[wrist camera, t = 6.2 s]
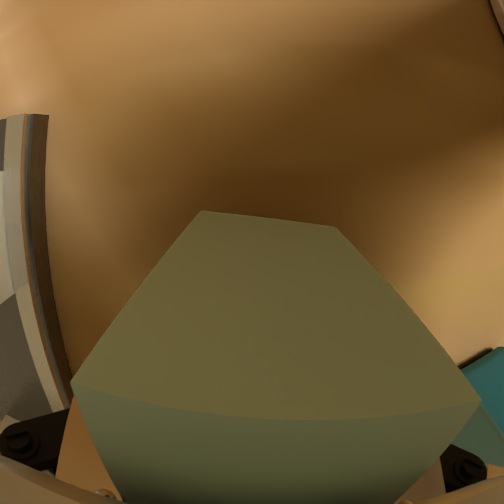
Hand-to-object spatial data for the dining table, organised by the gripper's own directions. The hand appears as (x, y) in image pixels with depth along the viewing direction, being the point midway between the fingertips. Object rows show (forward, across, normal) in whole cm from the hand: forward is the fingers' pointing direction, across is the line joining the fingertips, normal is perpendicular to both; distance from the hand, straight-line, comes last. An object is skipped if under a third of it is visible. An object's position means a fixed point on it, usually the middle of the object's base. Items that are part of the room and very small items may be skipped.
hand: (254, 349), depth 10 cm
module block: (+2, 0, 0) cm, 2 cm away
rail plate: (+4, +15, +8) cm, 18 cm away
